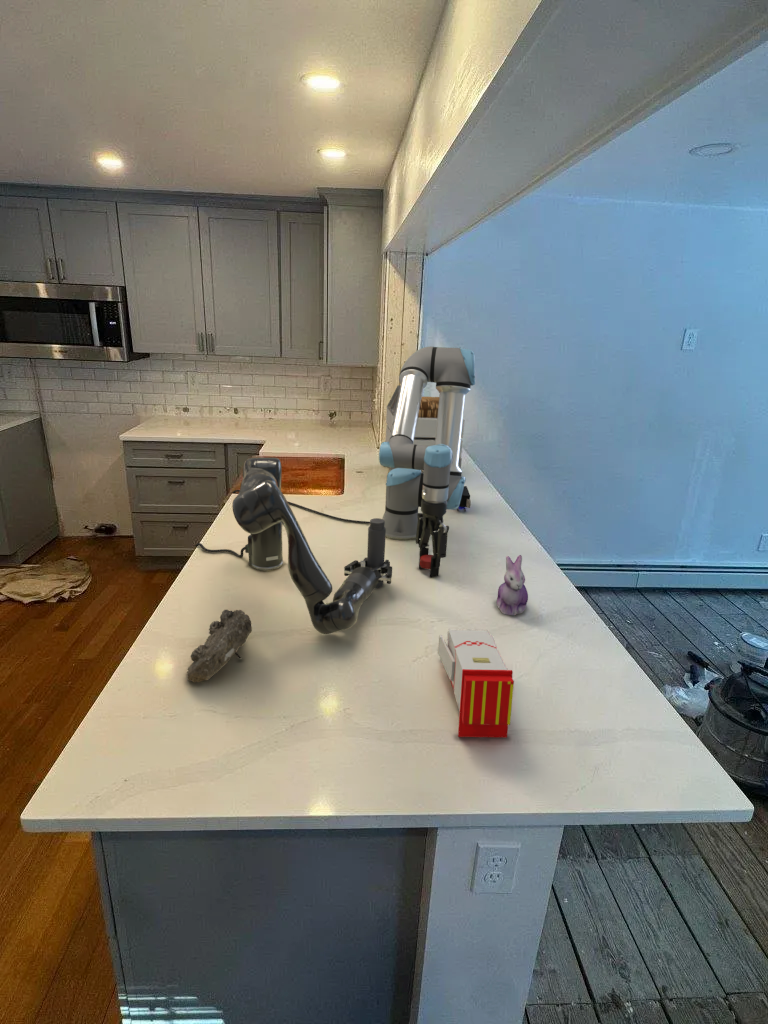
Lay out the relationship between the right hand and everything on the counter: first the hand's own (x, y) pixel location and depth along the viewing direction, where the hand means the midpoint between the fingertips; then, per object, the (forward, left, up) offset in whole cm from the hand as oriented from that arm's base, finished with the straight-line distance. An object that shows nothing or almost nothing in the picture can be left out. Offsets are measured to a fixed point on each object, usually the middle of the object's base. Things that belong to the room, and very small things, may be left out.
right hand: (428, 572), depth 172 cm
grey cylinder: (-3, -18, 0) cm, 19 cm away
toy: (+46, -34, 0) cm, 57 cm away
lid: (0, 0, +4) cm, 4 cm away
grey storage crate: (-81, +74, 0) cm, 110 cm away
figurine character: (-35, +53, 0) cm, 63 cm away
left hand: (-5, -16, +6) cm, 18 cm away
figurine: (+29, +3, 0) cm, 29 cm away
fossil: (+4, -68, 0) cm, 68 cm away
